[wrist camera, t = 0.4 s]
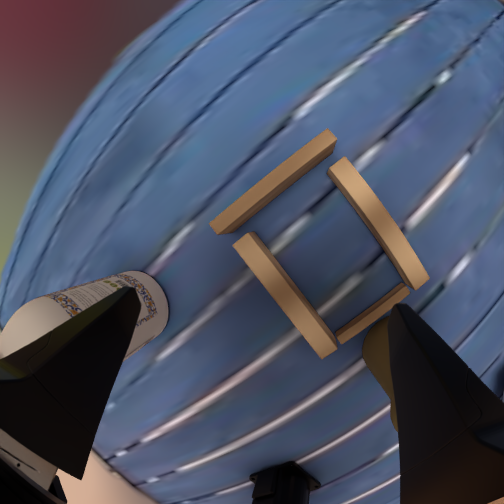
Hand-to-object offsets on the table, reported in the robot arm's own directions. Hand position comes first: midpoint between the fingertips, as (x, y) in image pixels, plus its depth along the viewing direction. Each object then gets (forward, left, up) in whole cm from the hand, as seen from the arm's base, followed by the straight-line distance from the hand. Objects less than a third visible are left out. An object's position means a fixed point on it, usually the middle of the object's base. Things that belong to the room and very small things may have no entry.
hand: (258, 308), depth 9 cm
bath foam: (+5, +14, -14) cm, 21 cm away
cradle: (-2, -3, -14) cm, 14 cm away
